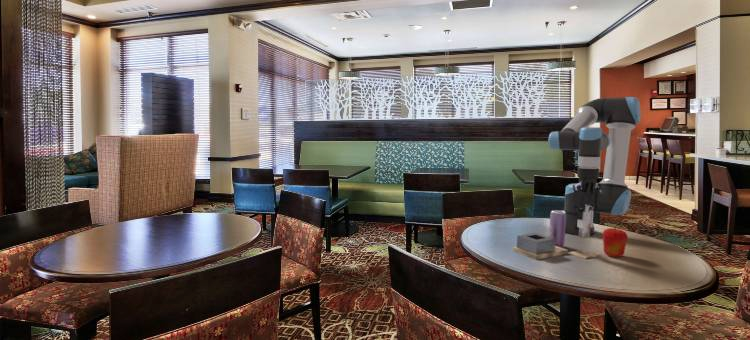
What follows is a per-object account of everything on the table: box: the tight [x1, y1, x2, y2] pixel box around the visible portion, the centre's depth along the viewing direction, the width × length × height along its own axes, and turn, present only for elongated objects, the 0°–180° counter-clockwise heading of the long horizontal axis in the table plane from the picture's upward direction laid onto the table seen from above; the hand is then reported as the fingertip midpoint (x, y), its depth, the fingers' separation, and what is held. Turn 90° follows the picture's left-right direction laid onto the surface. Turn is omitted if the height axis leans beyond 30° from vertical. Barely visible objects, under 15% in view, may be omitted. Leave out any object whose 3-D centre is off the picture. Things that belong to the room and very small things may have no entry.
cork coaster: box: [568, 249, 598, 260], centre depth 162 cm, size 7×7×1 cm
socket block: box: [516, 232, 555, 255], centre depth 164 cm, size 10×10×5 cm
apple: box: [602, 226, 629, 258], centre depth 161 cm, size 9×8×12 cm
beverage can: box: [548, 209, 566, 249], centre depth 172 cm, size 6×6×15 cm
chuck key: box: [578, 205, 594, 239], centre depth 160 cm, size 6×4×12 cm
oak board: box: [512, 246, 569, 260], centre depth 165 cm, size 17×12×2 cm
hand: (584, 227), depth 161 cm, fingers closed on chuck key, 4 cm apart
